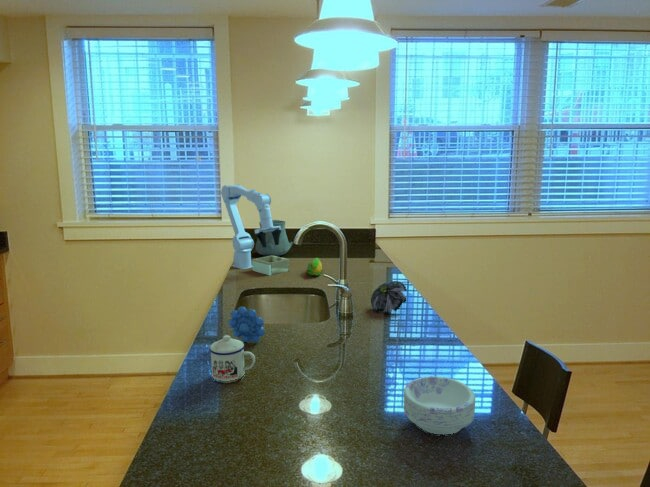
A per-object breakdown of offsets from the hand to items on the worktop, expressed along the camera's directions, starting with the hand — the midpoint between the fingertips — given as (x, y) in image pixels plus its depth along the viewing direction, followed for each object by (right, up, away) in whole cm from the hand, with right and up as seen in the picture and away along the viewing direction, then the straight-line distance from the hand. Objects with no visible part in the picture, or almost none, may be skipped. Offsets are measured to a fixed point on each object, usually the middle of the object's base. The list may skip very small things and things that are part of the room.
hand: (271, 246), depth 241 cm
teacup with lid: (+2, -35, -108) cm, 114 cm away
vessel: (-3, -6, +49) cm, 49 cm away
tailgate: (-5, -13, +4) cm, 15 cm away
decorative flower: (+50, -24, -53) cm, 77 cm away
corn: (+22, -14, +5) cm, 26 cm away
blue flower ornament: (+2, -31, -85) cm, 91 cm away
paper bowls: (+52, -39, -132) cm, 147 cm away
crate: (-1, -13, +8) cm, 15 cm away
